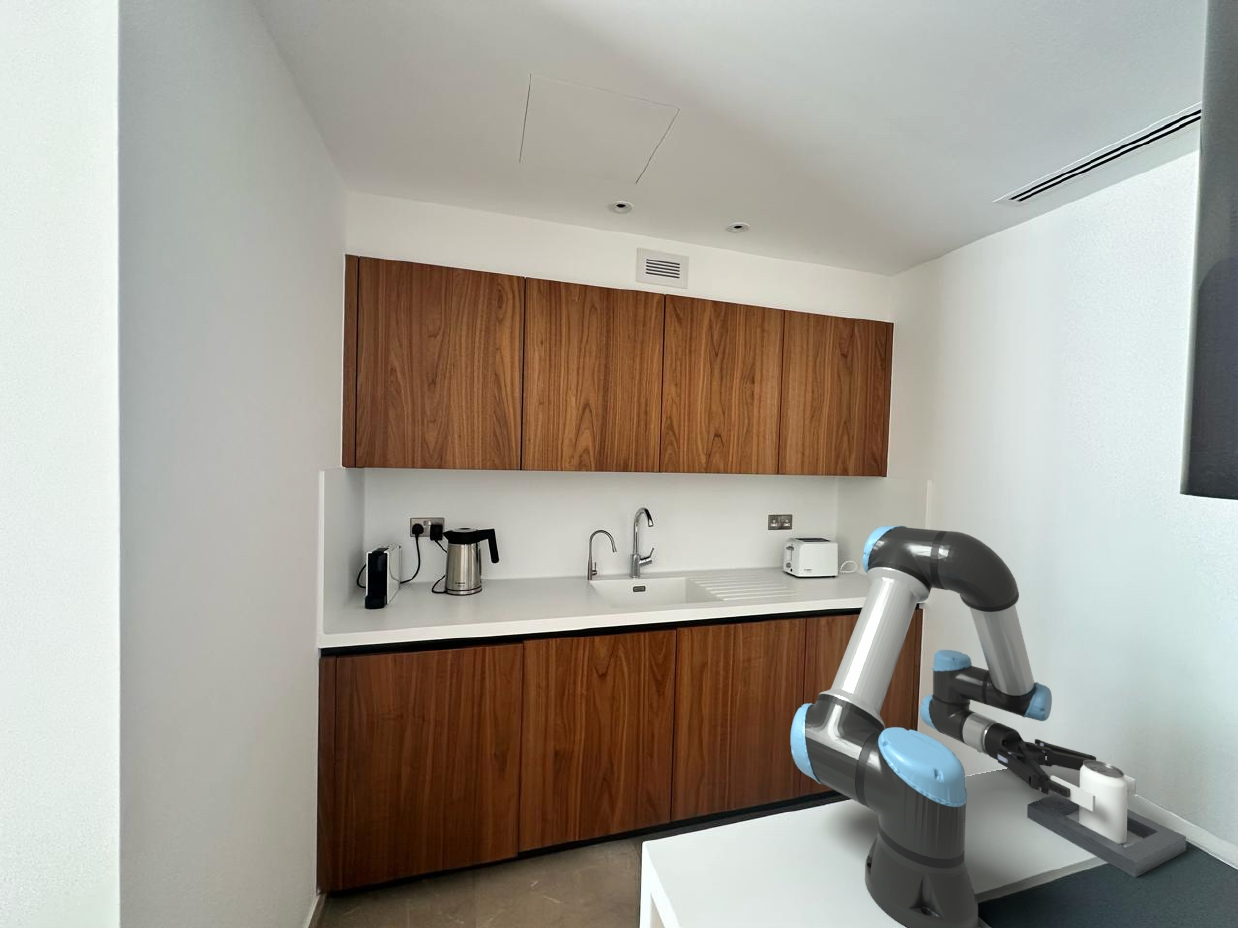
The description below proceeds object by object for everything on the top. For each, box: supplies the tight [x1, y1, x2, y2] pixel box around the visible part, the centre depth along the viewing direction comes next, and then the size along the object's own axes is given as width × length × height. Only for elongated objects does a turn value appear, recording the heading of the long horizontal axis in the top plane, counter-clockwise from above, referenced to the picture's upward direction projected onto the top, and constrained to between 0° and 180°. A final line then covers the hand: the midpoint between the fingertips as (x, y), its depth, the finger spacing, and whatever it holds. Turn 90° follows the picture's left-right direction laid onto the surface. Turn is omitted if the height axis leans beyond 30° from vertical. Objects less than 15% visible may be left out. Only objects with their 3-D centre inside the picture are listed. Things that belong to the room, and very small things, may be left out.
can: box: [1078, 760, 1128, 845], centre depth 97 cm, size 6×6×12 cm
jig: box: [1026, 785, 1187, 878], centre depth 97 cm, size 17×16×2 cm
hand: (1115, 795), depth 95 cm, fingers open, 13 cm apart
